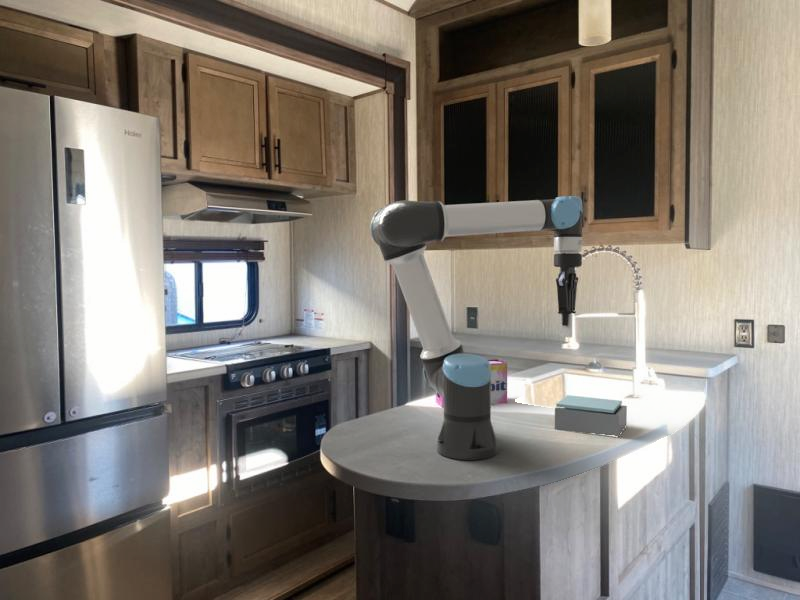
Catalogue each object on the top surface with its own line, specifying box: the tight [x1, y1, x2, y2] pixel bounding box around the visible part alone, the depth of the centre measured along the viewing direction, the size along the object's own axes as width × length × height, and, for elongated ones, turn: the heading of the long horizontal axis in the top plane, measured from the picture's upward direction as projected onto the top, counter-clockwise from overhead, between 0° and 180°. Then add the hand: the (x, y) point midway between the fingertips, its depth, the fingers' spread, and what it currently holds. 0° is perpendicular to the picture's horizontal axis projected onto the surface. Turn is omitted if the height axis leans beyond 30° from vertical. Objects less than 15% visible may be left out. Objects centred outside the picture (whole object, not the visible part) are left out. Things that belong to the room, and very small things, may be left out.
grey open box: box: [554, 404, 628, 436], centre depth 168 cm, size 12×17×6 cm
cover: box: [555, 394, 623, 413], centre depth 168 cm, size 12×15×1 cm
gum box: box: [435, 358, 508, 408], centre depth 199 cm, size 24×8×14 cm, turn 103°
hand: (566, 336), depth 170 cm, fingers closed
